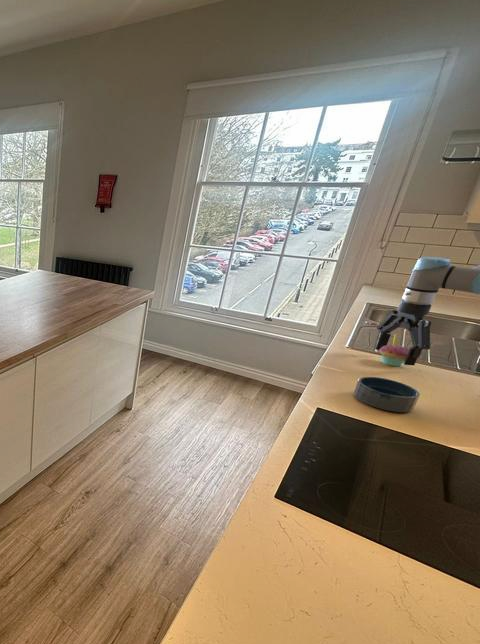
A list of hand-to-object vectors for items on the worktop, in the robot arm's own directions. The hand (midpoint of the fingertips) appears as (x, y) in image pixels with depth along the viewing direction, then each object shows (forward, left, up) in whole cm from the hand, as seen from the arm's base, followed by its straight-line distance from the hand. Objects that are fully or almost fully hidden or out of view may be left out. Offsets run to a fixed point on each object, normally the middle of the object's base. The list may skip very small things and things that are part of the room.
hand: (393, 357), depth 147 cm
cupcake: (0, 0, -3) cm, 3 cm away
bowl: (-32, +24, -3) cm, 40 cm away
